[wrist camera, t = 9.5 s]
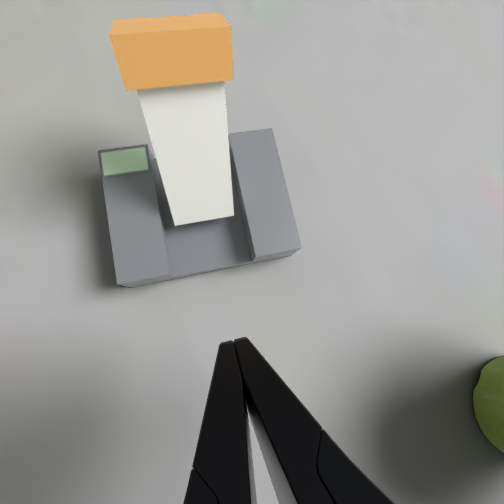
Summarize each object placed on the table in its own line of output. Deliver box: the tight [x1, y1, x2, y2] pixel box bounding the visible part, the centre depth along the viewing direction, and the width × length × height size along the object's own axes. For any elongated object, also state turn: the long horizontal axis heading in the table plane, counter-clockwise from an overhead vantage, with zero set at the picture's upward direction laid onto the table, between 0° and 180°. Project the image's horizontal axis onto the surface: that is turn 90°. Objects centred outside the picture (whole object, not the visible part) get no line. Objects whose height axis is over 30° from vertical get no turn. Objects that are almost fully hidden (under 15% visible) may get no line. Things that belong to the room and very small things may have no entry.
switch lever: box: [110, 13, 234, 226], centre depth 17 cm, size 3×5×10 cm
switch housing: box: [98, 128, 302, 287], centre depth 21 cm, size 9×12×3 cm
